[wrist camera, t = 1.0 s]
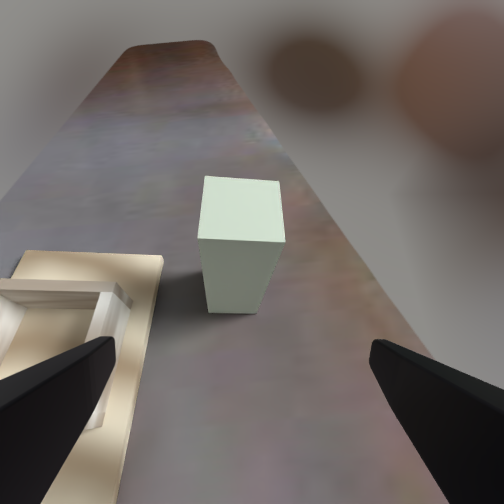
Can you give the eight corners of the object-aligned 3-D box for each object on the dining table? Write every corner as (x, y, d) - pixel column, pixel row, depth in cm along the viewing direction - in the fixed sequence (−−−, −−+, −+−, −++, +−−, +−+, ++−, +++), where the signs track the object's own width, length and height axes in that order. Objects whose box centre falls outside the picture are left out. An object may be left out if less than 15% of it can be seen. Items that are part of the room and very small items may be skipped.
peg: (256, 313, 23) (285, 242, 12) (208, 312, 22) (197, 238, 12) (255, 271, 25) (279, 181, 15) (211, 269, 25) (204, 176, 14)
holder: (113, 515, 15) (71, 560, 11) (-109, 529, 14) (-254, 585, 10) (163, 260, 24) (151, 230, 20) (33, 255, 23) (-9, 223, 19)
